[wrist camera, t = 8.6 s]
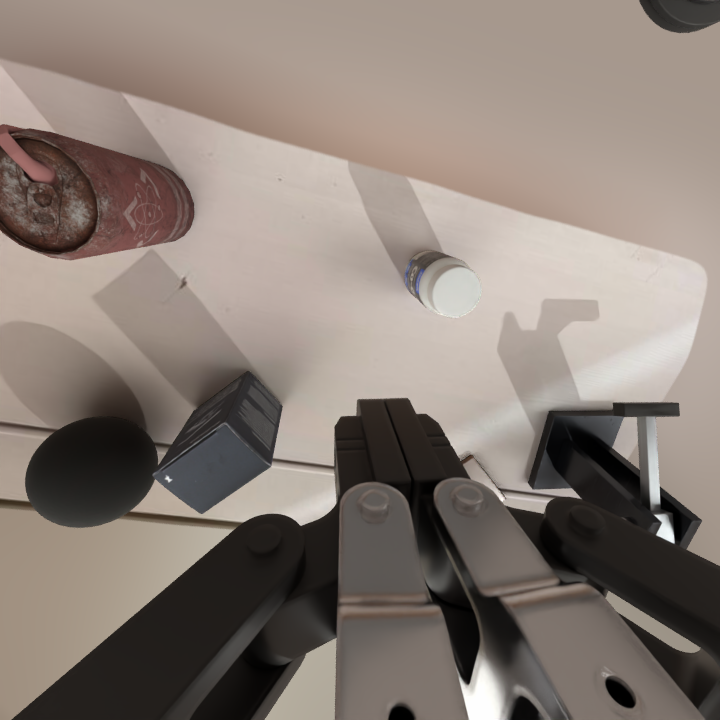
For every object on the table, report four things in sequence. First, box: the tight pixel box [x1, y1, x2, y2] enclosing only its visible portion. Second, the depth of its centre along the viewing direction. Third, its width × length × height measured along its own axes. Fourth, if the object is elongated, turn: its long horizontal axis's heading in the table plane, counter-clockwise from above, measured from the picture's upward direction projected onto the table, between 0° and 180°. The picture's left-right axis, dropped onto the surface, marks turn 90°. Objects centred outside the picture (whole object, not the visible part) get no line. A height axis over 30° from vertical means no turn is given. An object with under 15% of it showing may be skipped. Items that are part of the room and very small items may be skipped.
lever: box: [613, 402, 680, 543], centre depth 34 cm, size 13×6×2 cm, turn 177°
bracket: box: [528, 411, 702, 549], centre depth 39 cm, size 11×9×14 cm
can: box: [0, 124, 194, 260], centre depth 24 cm, size 6×6×14 cm
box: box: [153, 371, 283, 514], centre depth 33 cm, size 8×6×11 cm
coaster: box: [461, 455, 506, 501], centre depth 46 cm, size 9×9×1 cm
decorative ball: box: [25, 417, 158, 528], centre depth 34 cm, size 10×10×10 cm
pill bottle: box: [405, 251, 482, 318], centre depth 31 cm, size 5×5×8 cm
